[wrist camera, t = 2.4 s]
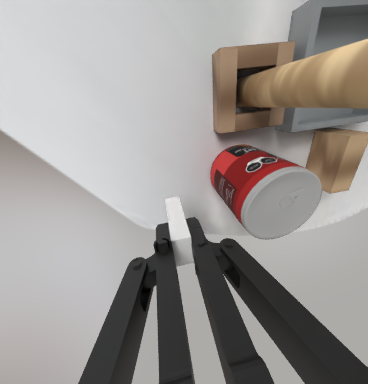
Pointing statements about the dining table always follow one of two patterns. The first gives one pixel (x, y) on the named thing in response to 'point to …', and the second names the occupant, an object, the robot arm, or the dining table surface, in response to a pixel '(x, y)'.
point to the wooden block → (336, 157)
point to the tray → (321, 42)
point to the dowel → (311, 81)
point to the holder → (227, 80)
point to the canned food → (265, 190)
